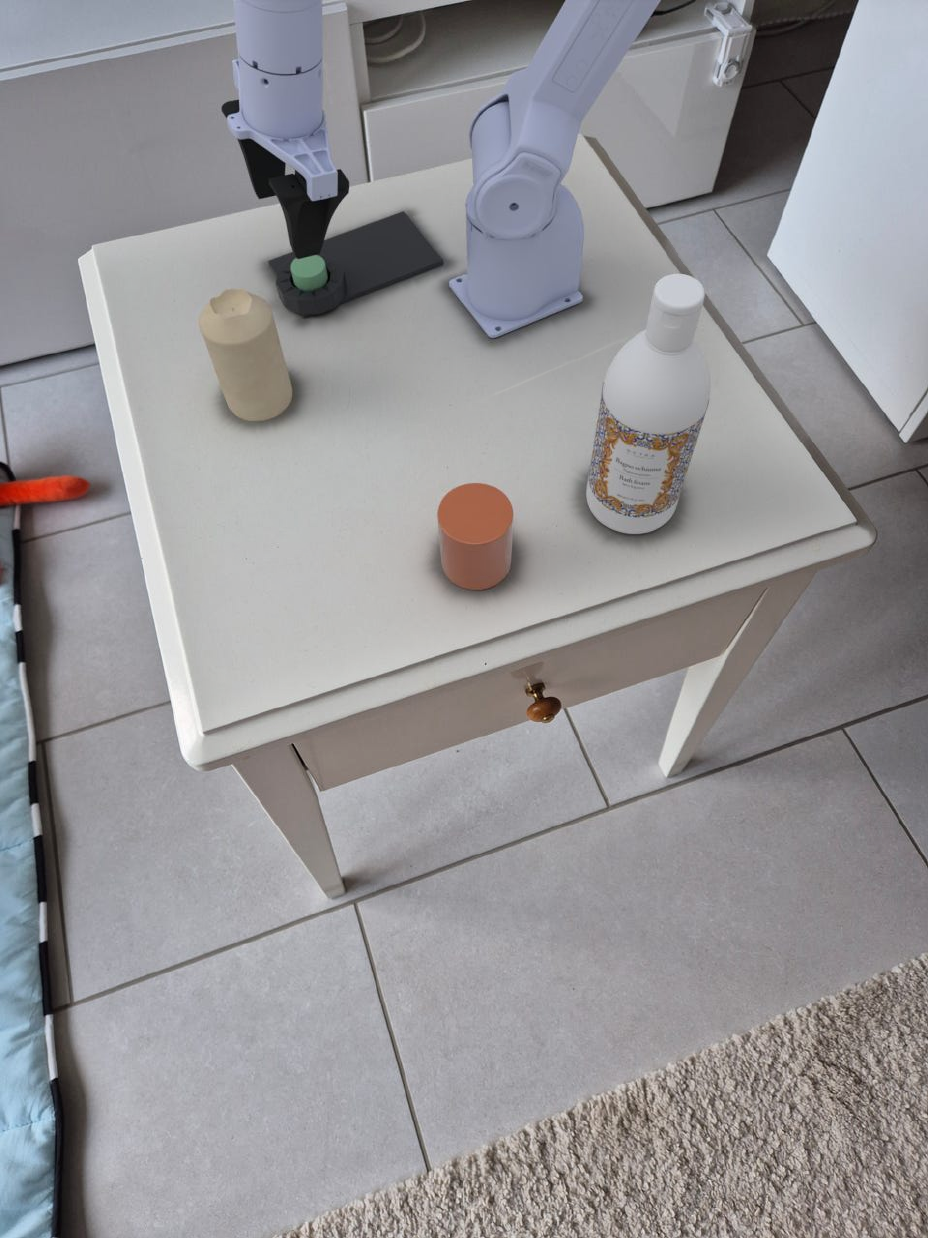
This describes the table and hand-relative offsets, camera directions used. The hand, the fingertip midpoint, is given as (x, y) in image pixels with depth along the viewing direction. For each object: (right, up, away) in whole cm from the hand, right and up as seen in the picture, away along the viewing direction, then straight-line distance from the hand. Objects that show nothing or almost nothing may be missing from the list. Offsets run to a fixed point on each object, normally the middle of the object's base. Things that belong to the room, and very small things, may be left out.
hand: (287, 223), depth 73 cm
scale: (+4, 0, +9) cm, 10 cm away
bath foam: (+27, -23, -4) cm, 36 cm away
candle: (-3, -14, +2) cm, 14 cm away
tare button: (+1, -2, +6) cm, 6 cm away
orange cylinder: (+15, -28, -7) cm, 32 cm away
